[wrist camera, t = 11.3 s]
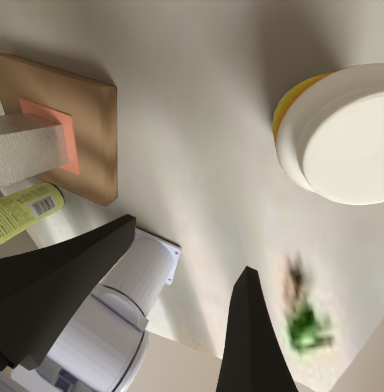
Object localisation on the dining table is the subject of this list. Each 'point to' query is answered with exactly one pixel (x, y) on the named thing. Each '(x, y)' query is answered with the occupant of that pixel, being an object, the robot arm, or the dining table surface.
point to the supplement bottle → (335, 134)
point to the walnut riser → (69, 122)
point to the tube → (27, 208)
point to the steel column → (29, 146)
